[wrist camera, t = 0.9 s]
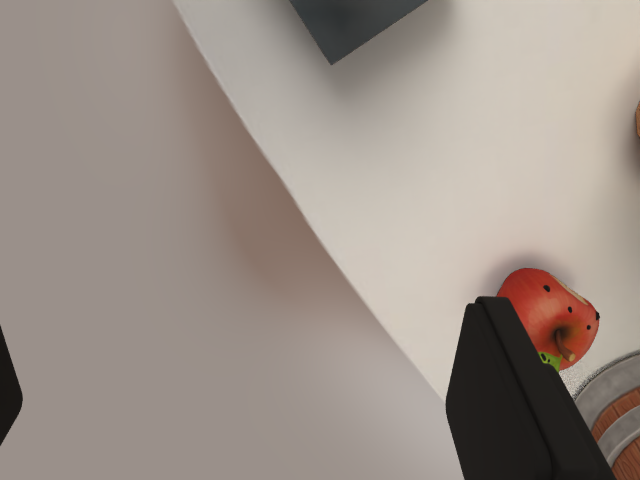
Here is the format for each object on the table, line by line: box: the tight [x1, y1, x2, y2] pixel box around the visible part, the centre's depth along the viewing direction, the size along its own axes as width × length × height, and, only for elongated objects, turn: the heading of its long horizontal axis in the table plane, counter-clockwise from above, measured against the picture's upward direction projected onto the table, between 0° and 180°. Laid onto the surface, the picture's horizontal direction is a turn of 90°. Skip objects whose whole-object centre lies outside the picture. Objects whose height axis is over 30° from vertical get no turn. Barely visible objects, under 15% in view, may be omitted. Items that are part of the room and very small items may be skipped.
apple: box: [497, 268, 600, 373], centre depth 37 cm, size 8×7×10 cm
